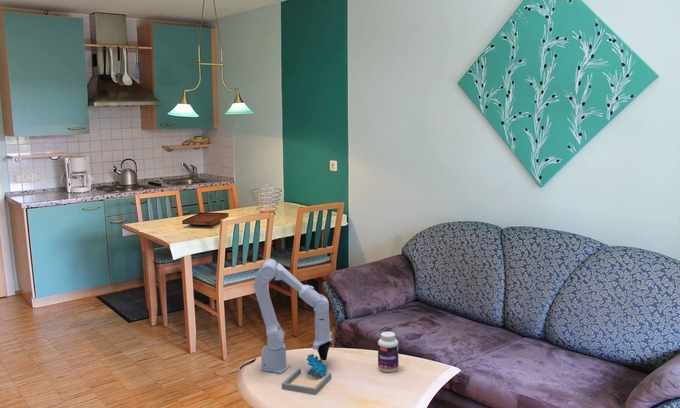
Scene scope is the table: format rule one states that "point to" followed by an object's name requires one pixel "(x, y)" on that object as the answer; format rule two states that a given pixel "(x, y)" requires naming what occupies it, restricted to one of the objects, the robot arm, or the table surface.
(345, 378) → the table surface
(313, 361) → the gear
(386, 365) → the pill bottle
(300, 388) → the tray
